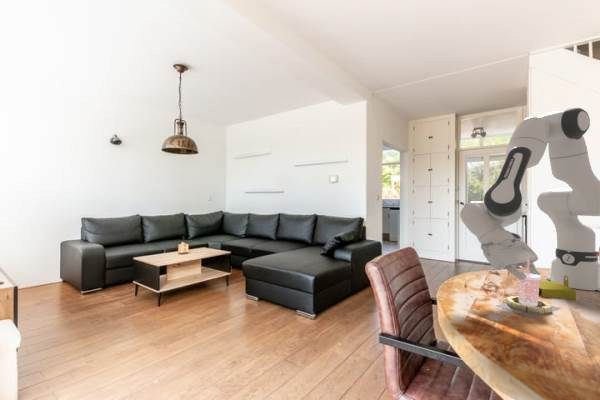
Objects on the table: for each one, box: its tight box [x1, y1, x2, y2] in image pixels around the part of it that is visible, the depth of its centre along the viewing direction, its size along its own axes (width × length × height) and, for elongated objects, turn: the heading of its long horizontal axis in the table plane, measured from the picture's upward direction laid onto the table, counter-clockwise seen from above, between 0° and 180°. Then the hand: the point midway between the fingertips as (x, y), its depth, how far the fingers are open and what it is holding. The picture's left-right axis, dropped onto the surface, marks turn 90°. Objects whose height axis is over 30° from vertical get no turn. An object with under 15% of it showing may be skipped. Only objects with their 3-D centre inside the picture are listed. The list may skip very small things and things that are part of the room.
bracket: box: [539, 276, 577, 302], centre depth 103 cm, size 16×8×15 cm
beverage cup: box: [516, 259, 542, 306], centre depth 89 cm, size 6×6×14 cm
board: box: [496, 302, 562, 319], centre depth 89 cm, size 16×10×1 cm, turn 115°
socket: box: [505, 295, 553, 315], centre depth 89 cm, size 10×10×2 cm
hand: (530, 277), depth 88 cm, fingers closed on beverage cup, 6 cm apart
